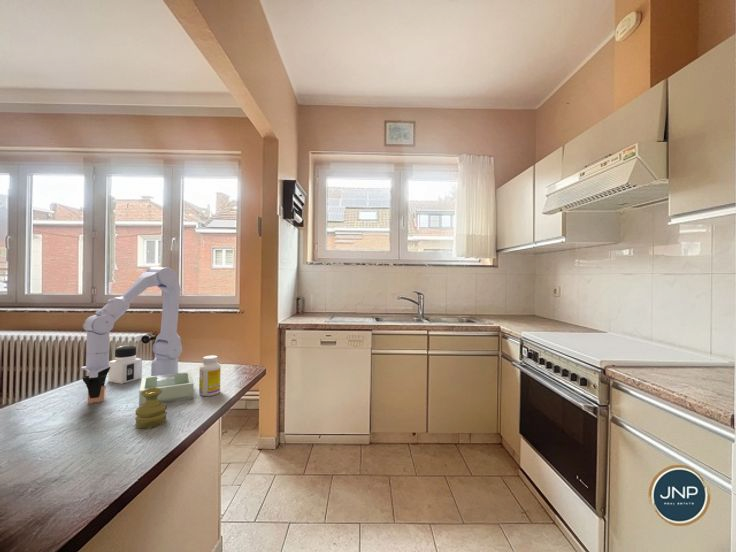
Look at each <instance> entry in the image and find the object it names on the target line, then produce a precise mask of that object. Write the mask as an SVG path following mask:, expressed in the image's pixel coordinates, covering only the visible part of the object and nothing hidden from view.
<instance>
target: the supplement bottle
mask: <svg viewBox="0 0 736 552" xmlns="http://www.w3.org/2000/svg"><path fill="white" fill-rule="evenodd" d="M202 362H203V363H202V364H200V366H199V378H198V379H199V380H198V381H199V382H198V383H199V387H198V388H199V389H198V393H199V395H200V396H203V397H212V396H216V395H218V394H220V391H221V364H220V363H219V362H218V355H212V354H211V355H206V356H203V357H202Z"/></svg>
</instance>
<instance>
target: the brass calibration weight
mask: <svg viewBox="0 0 736 552" xmlns="http://www.w3.org/2000/svg"><path fill="white" fill-rule="evenodd" d="M161 393H162V389H160V388H156V387H149V388H148V389H146V390H144V391H143V392H142V393H141V395H142V396H144V397H145V398H146V401H145V402H144V403H143V404H142V405H141V406H139V405H138V407H137V408H136V409H135V416H136V417H135V428H138V429H152V428H156V427H159V426H161V425H163V424H164V423H165V422H166V421H167V409H168V406H167V404H166V403H163V402H161V401H160V400H158V399H157V397H158V395H159V394H161Z"/></svg>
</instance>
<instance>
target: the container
mask: <svg viewBox="0 0 736 552" xmlns="http://www.w3.org/2000/svg"><path fill="white" fill-rule="evenodd" d="M109 367H110V370H109V371H108V373H107V375H108V376H107V377H108V380H107V381H108V382H109V383H115V384H121V385H123V383H124V384H126V383H130V382H134V381H136V380H140V379H142V377H143V376H142V375H143V359H142V358H139V357H137V347H136V346H134V345H129V344H128V345H121V346H118V347H116V348H115V349H114V359H113V360H109Z"/></svg>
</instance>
